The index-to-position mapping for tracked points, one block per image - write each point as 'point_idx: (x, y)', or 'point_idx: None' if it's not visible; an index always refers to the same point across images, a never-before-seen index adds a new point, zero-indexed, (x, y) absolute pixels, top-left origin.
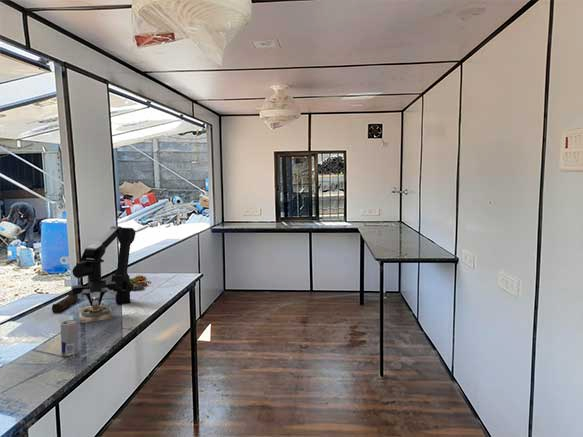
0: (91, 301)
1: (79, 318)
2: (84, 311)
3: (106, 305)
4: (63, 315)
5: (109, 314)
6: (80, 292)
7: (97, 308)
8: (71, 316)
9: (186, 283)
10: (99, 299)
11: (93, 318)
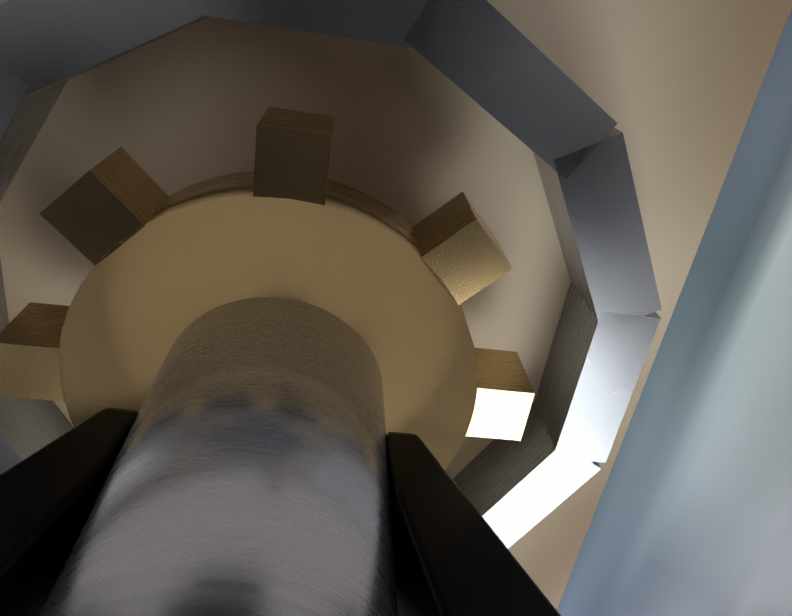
0: (418, 548)
1: (756, 82)
2: (522, 446)
3: None
4: (772, 567)
5: None
6: None
7: (229, 294)
8: (703, 464)
9: None
10: (21, 582)
11: None
